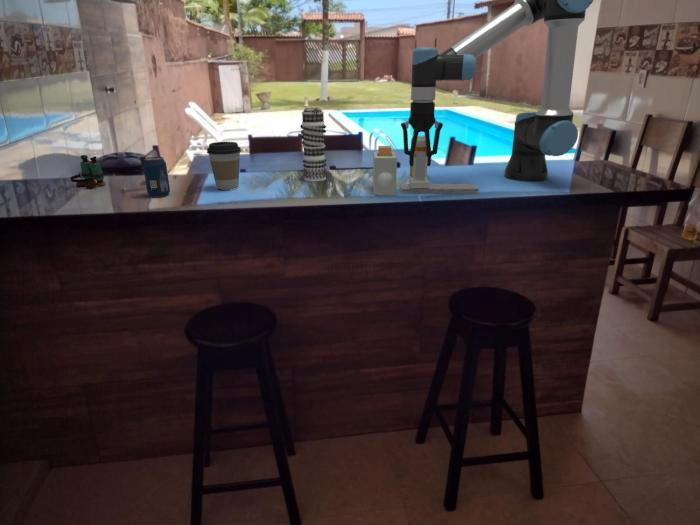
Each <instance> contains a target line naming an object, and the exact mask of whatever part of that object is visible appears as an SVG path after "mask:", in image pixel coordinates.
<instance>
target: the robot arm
mask: <svg viewBox="0 0 700 525" xmlns="http://www.w3.org/2000/svg"><path fill="white" fill-rule="evenodd" d="M593 2H594V0H514V2H513V4H512V5H510V6H509V7H507V8H505V10H503V11H502V12H500V13H499V14H497V15H496V16H494V17H493V18H491V19H490V20H488V21H486V22H485V23H484V24H483V25H481V26H479V27H478V28H477V29H475V30H474V31H472V32H471V33H469V34H468V35H467V36H465V37H463V38H462V39H460V40H459V41H458V42H456V43H454V44H453V45H452V46H450V47H449V48H448V49H446V50H444V51H443V52H442V53H440V54H439V52H438V51H439V50H438V48H437V47H436V46H435V47H428V46H427V47H425V46H424V47H421V46H420V47H416V48H414V49H413V51H412V60H411V90H410V100H411V101H412V102H410V110H409V112H410V113H409V114H410V115H409V117H408V120H407V121H405V122H401V123H400V127H401V129H402V133H403V135H402V137H403V152H404V154H405V155H407V156H409V162H408V163H409V167H410V166H412V176H413V177H415V172H416V156H415V155H414V152H415V147H416V142H417V137H418V136H419V133H424V136H425V142H426V151H427V155H426V158H425V178H428V176H427V175H428V167H431V164H432V156H433V155H437V154H438V149H439V142H440V135H441V130H442V128H443V127H444V123H442V122H441V121H437V120H436V116H435V112H436V111H435V108H436V107H435V106H436V103H435V100H436V91H437V90H436V87H437V81H439V82H440V81H446V82H447V81H448V82H449V81H452V82H453V81H455V82H456V81H462V82H464V81H470V80H472V79H473V78H474V76H475V74H476V71H477V60H476V59H477V58H478V57H479V56H481V55H482V54H484V53H486V52H487V51H489V50H490V49H492V48H493V47H495V46H497V44H500V42H502V41H504V40H505V39H507V38H509V37H510V35H513V34H514V33H515V32H517V31H518V30H520V29H521V28H523V27H524V26H527V27H529V26H531V25H533V24H534V23H536V22H538V21H540V20H543V23H544V24H545V26H546V27H547V40H546V50H545V59H544V60H545V62H544V72H543V81H542V82H543V83H542V92H541V93H542V95H541V105H540V107H539V109H538V110H537V111H535V112H534V111H533V112H520V113H518V114H517V115H516V117H515V121H514V128H513V129H514V131H513V139H512V148H511V156H510V158H509V160H508V162H507V165H506V167H505V169H504V177H505V178H507V179H511V180H516V181H524V182H525V181H526V182H538V181H539V182H540V181H545V180H547V179H548V175H549V171H548V166H547V161H546V160H547V159H546V156H552V157H560V156H564V155H565V154H567V153H569V151H570V150H572V149H573V148H574V146H575V144H576V143H577V141H578V136H579V133H578V132H579V130H578V127H577V126H576V125H575V123H574V122H573V118H574V112H573V111H572V110H571V108H570V103H571V95H572V94H571V93H572V84H573V76H574V70H575V69H574V67H575V60H576V50H577V43H578V42H577V40H578V34H579V27H580V25H581V24H583V22H584V21H585V18H586V11H587V9H588V8H590V6H591V5H592V4H593ZM409 126H411V128H412V129H413V132H412V136H413V138H412V137H411V139H412V143H411V142H410V150H409V139H408V138H409V137H408V135H409V134H408V129H409V128H410V127H409ZM433 126H434V128H435V129H434V130H435V131H434V138H433V145H432V148H431V137H430V133H431V132H430V130H431V129H432V127H433Z"/></svg>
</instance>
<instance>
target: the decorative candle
mask: <svg viewBox="0 0 700 525" xmlns="http://www.w3.org/2000/svg"><path fill="white" fill-rule="evenodd" d="M301 114H302V115H301V116H302V121H301V124H300V126H299V127H300V129H302V130H301V131H300V134H301V136H300V138H301V139H302V141H301V144H302V148H303V160H302V162H303V165H302V167H304V168H303V169H302V172H303V174H302V176H303V180H304V181H307V182H322V181H325V180H327V177H326V176H327V164H326V161H327V159H326V154H325V148H326V144H325V143H326V142H327V140H325V139H326V138H327V135H325V133H327V130H326V128H327V125H325V118H324V117H325V116H324V114H325V111H323V110H322V108H320V107H307V108H304V109H303V111H302V112H301Z"/></svg>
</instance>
